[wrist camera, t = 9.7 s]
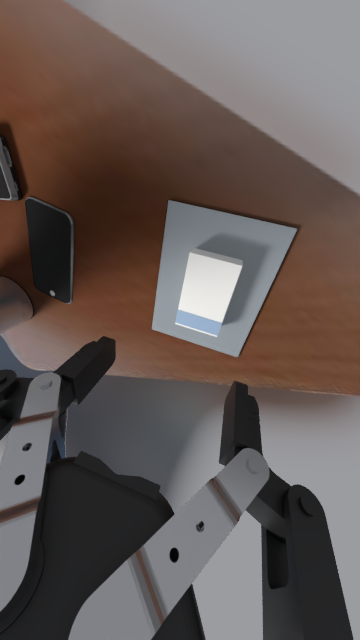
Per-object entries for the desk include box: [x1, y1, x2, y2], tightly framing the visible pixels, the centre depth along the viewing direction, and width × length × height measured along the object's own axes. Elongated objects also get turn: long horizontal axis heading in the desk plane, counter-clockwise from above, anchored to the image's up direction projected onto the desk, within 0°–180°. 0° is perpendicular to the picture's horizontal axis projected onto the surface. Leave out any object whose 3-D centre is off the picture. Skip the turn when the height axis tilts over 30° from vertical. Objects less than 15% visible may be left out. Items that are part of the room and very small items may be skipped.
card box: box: [175, 248, 243, 337], centre depth 24 cm, size 10×6×3 cm, turn 169°
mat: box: [152, 200, 297, 357], centre depth 26 cm, size 14×18×1 cm
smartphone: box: [25, 197, 74, 304], centre depth 30 cm, size 8×1×15 cm
